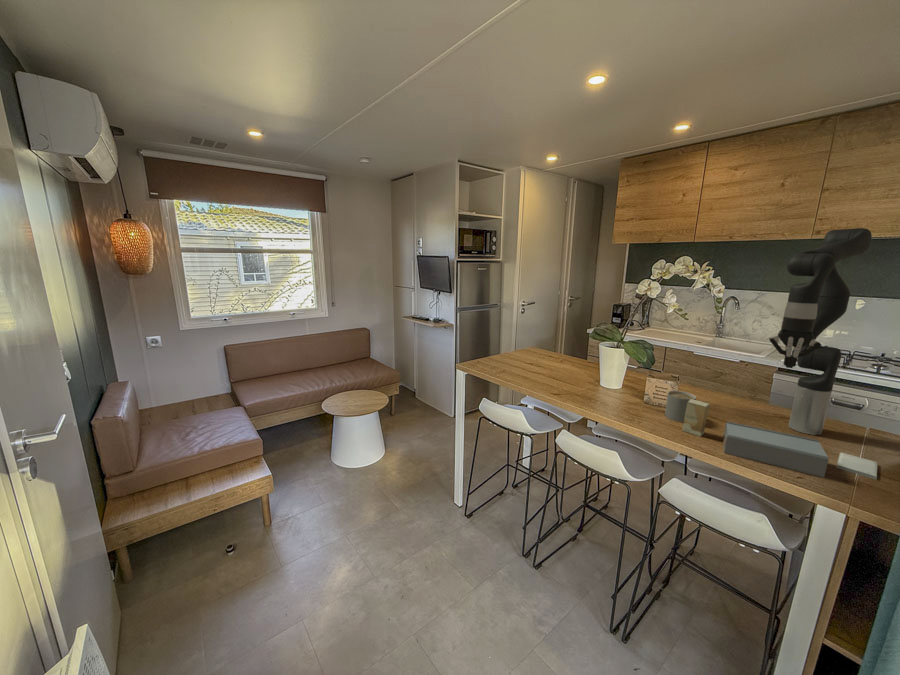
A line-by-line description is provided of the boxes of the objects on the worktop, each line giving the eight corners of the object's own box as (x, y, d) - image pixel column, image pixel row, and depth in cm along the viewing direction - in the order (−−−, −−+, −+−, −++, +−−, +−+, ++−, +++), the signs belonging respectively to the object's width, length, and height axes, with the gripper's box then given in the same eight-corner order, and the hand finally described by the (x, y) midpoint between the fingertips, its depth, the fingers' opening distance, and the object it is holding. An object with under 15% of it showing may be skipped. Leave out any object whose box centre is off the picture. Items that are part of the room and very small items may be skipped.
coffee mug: (686, 424, 141) (690, 401, 139) (660, 416, 149) (663, 393, 147) (700, 416, 149) (703, 394, 147) (674, 408, 156) (677, 387, 154)
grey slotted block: (723, 439, 130) (725, 423, 128) (814, 460, 116) (818, 443, 115) (724, 452, 120) (727, 436, 119) (824, 477, 106) (828, 459, 105)
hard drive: (877, 476, 105) (877, 461, 113) (836, 464, 111) (840, 451, 119) (875, 481, 106) (876, 466, 113) (835, 469, 112) (839, 455, 119)
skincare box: (681, 430, 136) (686, 401, 133) (685, 427, 138) (690, 398, 136) (701, 437, 131) (706, 406, 128) (705, 433, 134) (710, 403, 131)
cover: (726, 424, 128) (726, 421, 128) (817, 443, 115) (818, 440, 115) (727, 436, 119) (728, 433, 118) (827, 459, 105) (828, 456, 105)
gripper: (825, 316, 114) (813, 368, 118) (770, 313, 122) (761, 361, 126) (831, 319, 108) (819, 373, 112) (774, 315, 116) (764, 366, 120)
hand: (788, 367), depth 119 cm, fingers closed
